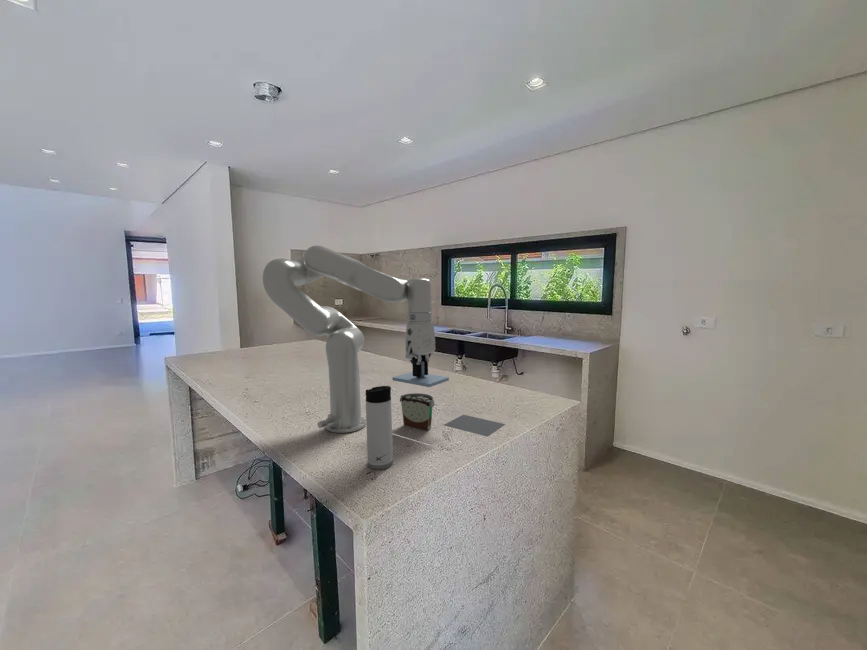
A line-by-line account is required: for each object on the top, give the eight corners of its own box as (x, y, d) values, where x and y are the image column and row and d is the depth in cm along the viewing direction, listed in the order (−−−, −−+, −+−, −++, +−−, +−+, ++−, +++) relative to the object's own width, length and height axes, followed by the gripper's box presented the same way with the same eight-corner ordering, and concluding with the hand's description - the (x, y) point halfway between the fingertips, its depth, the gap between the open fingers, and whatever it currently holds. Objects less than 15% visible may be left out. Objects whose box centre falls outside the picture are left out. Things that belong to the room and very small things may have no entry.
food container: (442, 426, 115) (442, 396, 114) (432, 433, 110) (431, 401, 109) (411, 419, 122) (410, 390, 121) (400, 425, 116) (399, 395, 115)
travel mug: (383, 472, 86) (380, 391, 84) (362, 466, 89) (359, 387, 87) (398, 462, 91) (397, 385, 89) (379, 456, 95) (376, 382, 93)
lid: (429, 387, 106) (429, 367, 105) (392, 380, 115) (392, 361, 114) (448, 380, 114) (448, 361, 113) (412, 374, 123) (412, 357, 122)
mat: (487, 437, 106) (487, 436, 106) (443, 426, 115) (443, 424, 115) (505, 425, 115) (505, 424, 115) (463, 415, 125) (463, 414, 125)
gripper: (411, 320, 104) (413, 382, 105) (444, 316, 117) (444, 372, 118) (393, 319, 108) (394, 379, 110) (426, 316, 121) (426, 369, 123)
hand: (420, 375), depth 114 cm, fingers closed on lid, 2 cm apart
